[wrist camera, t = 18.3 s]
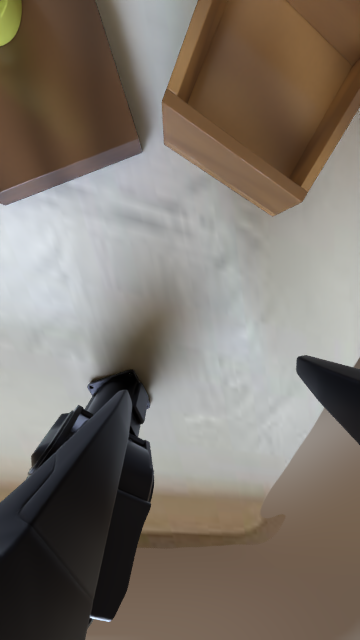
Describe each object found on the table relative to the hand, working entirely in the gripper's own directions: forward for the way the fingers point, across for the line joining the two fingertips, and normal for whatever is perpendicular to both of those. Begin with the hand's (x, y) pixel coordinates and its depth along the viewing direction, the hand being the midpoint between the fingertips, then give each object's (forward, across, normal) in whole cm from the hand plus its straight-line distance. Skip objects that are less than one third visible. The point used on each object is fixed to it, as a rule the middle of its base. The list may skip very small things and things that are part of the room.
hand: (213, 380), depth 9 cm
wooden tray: (+12, -9, -18) cm, 23 cm away
